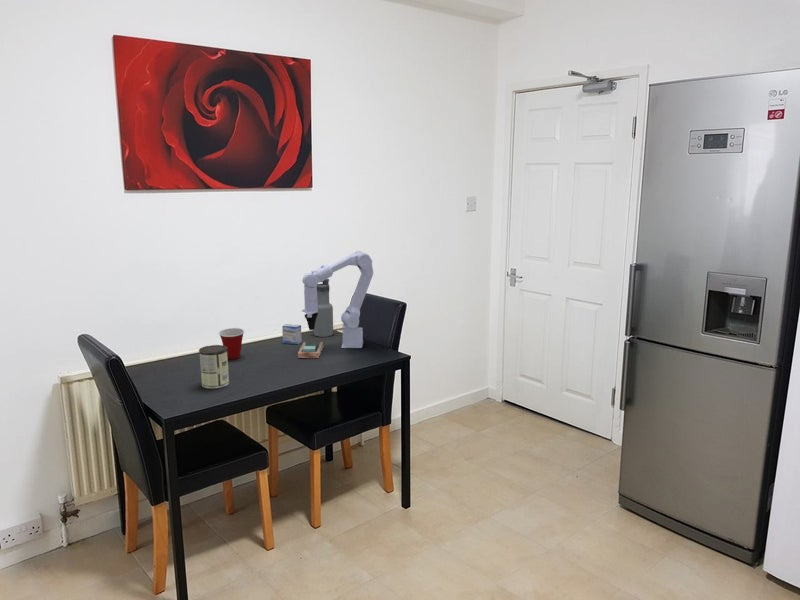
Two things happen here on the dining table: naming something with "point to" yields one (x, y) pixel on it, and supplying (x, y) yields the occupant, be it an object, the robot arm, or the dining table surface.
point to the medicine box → (291, 334)
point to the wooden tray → (310, 354)
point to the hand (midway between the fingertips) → (311, 329)
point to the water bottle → (324, 311)
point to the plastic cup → (232, 341)
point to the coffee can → (214, 366)
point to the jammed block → (309, 349)
